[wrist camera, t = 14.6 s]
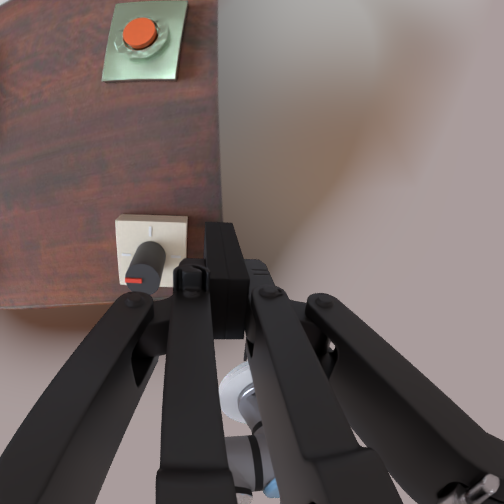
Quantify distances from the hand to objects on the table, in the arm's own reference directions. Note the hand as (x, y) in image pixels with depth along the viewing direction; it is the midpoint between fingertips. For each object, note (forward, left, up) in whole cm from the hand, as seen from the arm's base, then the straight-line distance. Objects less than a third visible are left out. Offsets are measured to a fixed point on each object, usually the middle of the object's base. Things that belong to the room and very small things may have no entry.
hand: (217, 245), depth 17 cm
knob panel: (-11, +8, -26) cm, 29 cm away
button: (+19, +11, -22) cm, 31 cm away
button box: (+19, +11, -26) cm, 33 cm away
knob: (-11, +8, -23) cm, 26 cm away
